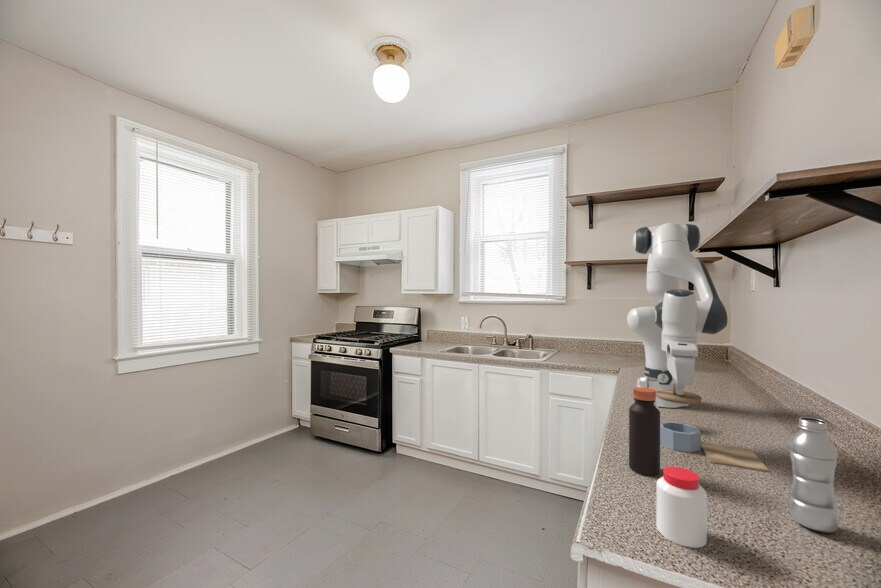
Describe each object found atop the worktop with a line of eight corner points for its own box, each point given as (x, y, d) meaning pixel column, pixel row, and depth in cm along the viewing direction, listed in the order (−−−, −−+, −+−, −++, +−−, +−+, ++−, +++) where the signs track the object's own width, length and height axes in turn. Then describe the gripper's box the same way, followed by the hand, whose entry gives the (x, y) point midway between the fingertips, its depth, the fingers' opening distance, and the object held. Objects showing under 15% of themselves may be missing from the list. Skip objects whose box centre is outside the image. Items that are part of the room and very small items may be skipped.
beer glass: (653, 419, 128) (653, 377, 128) (663, 427, 121) (664, 381, 121) (632, 419, 129) (633, 376, 129) (641, 426, 122) (641, 381, 122)
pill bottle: (714, 551, 62) (715, 487, 62) (663, 543, 64) (663, 480, 64) (696, 524, 70) (696, 466, 70) (651, 517, 72) (651, 461, 72)
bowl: (657, 436, 114) (657, 419, 114) (695, 441, 109) (695, 424, 110) (661, 448, 105) (661, 430, 105) (703, 454, 101) (703, 436, 101)
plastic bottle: (836, 543, 65) (836, 429, 65) (784, 523, 70) (784, 418, 70) (842, 529, 68) (842, 422, 69) (792, 511, 74) (792, 412, 74)
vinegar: (655, 479, 87) (656, 394, 87) (625, 470, 91) (625, 389, 91) (663, 469, 92) (663, 389, 92) (633, 461, 96) (634, 384, 96)
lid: (654, 390, 115) (654, 378, 115) (696, 395, 110) (697, 382, 110) (658, 400, 105) (658, 387, 105) (705, 406, 100) (705, 391, 100)
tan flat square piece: (698, 442, 108) (698, 441, 108) (749, 450, 103) (749, 448, 103) (710, 462, 96) (710, 460, 96) (769, 472, 91) (769, 470, 91)
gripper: (662, 340, 118) (661, 382, 118) (671, 350, 99) (670, 400, 100) (685, 341, 115) (684, 385, 116) (699, 351, 97) (698, 403, 97)
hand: (678, 392), depth 108 cm, fingers closed on lid, 3 cm apart
